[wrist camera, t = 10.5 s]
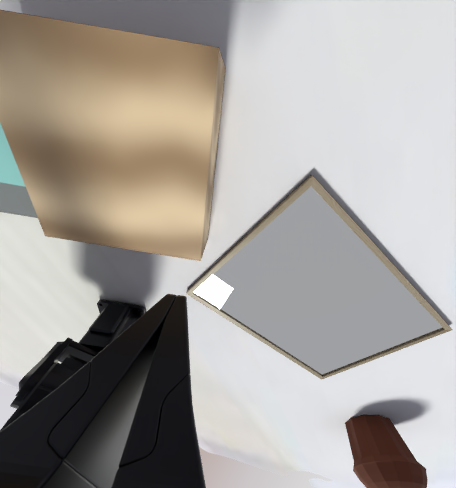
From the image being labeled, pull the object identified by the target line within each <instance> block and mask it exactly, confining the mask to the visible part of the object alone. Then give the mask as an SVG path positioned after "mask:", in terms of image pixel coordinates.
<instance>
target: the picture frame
mask: <svg viewBox="0 0 456 488" xmlns="http://www.w3.org/2000/svg"><path fill="white" fill-rule="evenodd" d="M186 294H188V295H189V296H191V297H192V298H194V299H196V300H197V301H199V302H200V303H202V304H203V305H205V306H207V307H208V308H210V309H211V310H213V311H214V312H216V313H218V314H219V315H221V316H222V317H224V318H226V319H227V320H229V321H230V322H232V323H233V324H235V325H237V326H238V327H240V328H241V329H243V330H245V331H246V332H248V333H249V334H251V335H252V336H254V337H256V338H257V339H259V340H260V341H262V342H263V343H265V344H267V345H268V346H270V347H271V348H273V349H275V350H276V351H278V352H279V353H281V354H282V355H284V356H286V357H287V358H289V359H290V360H292V361H293V362H295V363H297V364H298V365H300V366H301V367H303V368H305V369H306V370H308V371H309V372H311V373H312V374H314V375H316V376H317V377H319V378H320V379H324V378H327V377H329V376H332V375H335V374H337V373H340V372H343V371H345V370H348V369H350V368H353V367H356V366H358V365H361V364H364V363H366V362H369V361H372V360H374V359H377V358H380V357H382V356H385V355H387V354H390V353H393V352H395V351H398V350H401V349H403V348H406V347H409V346H411V345H414V344H416V343H419V342H422V341H424V340H427V339H430V338H432V337H435V336H438V335H440V334H443V333H445V332H448V331H451V330H452V329H451V327H450V326H449V325H448V324H447V323H446V322H445V321H444V320H443V319H442V318H441V316H440V315H439V314H438V313H437V312H436V311H435V310H434V309H433V308H432V306H431V305H430V304H429V303H428V302H427V301H426V300H425V299H424V298H423V297H422V295H421V294H420V293H419V292H418V291H417V290H416V289H415V288H414V287H413V286H412V284H411V283H410V282H409V281H408V280H407V279H406V278H405V277H404V276H403V275H402V273H401V272H400V271H399V270H398V269H397V268H396V267H395V266H394V265H393V264H392V262H391V261H390V260H389V259H388V258H387V257H386V256H385V255H384V254H383V253H382V251H381V250H380V249H379V248H378V247H377V246H376V245H375V244H374V243H373V242H372V240H371V239H370V238H369V237H368V236H367V235H366V234H365V233H364V232H363V231H362V229H361V228H360V227H359V226H358V225H357V224H356V223H355V222H354V221H353V219H352V218H351V217H350V216H349V215H348V214H347V213H346V212H345V211H344V210H343V208H342V207H341V206H340V205H339V204H338V203H337V202H336V201H335V200H334V199H333V197H332V196H331V195H330V194H329V193H328V192H327V191H326V190H325V189H324V188H323V186H322V185H321V184H320V183H319V182H318V181H317V180H316V179H315V178H314V177H313V176H312V175H310V176H309V177H308V178H307V179H306V180H305V181H304V182H303V183H302V184H301V185H300V186H298V187H297V188H296V189H295V190H294V191H293V192H292V193H291V194H290V195H289V196H288V197H287V198H286V199H285V200H283V201H282V202H281V203H280V204H279V205H278V206H277V207H276V208H275V209H274V210H273V211H272V212H271V213H270V214H268V215H267V216H266V217H265V218H264V219H263V220H262V221H261V222H260V223H259V224H258V225H257V226H256V227H255V228H253V229H252V230H251V231H250V232H249V233H248V234H247V235H246V236H245V237H244V238H243V239H242V240H241V241H240V242H238V243H237V244H236V245H235V246H234V247H233V248H232V249H231V250H230V251H229V252H228V253H227V254H226V255H225V256H223V257H222V258H221V259H220V260H219V261H218V262H217V263H216V264H215V265H214V266H213V267H212V268H211V269H210V270H209V271H207V272H206V273H205V274H204V275H203V276H202V277H201V278H200V279H199V280H198V281H197V282H196V283H195V284H194V285H192V286H191V287H190V288H189V289H188V290H187V292H186Z"/></svg>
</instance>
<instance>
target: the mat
mask: <svg viewBox="0 0 456 488" xmlns="http://www.w3.org/2000/svg"><path fill="white" fill-rule="evenodd" d="M0 212H5V213H11V214H17V215H23V216H29V217H36V218H38V216H37V214H36V211H35V209H34V206H33V204H32V201H31V199H30V196H29V194H28V191H27V189H26V187H24V186H18V185H13V184H7V183H1V182H0Z"/></svg>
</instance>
